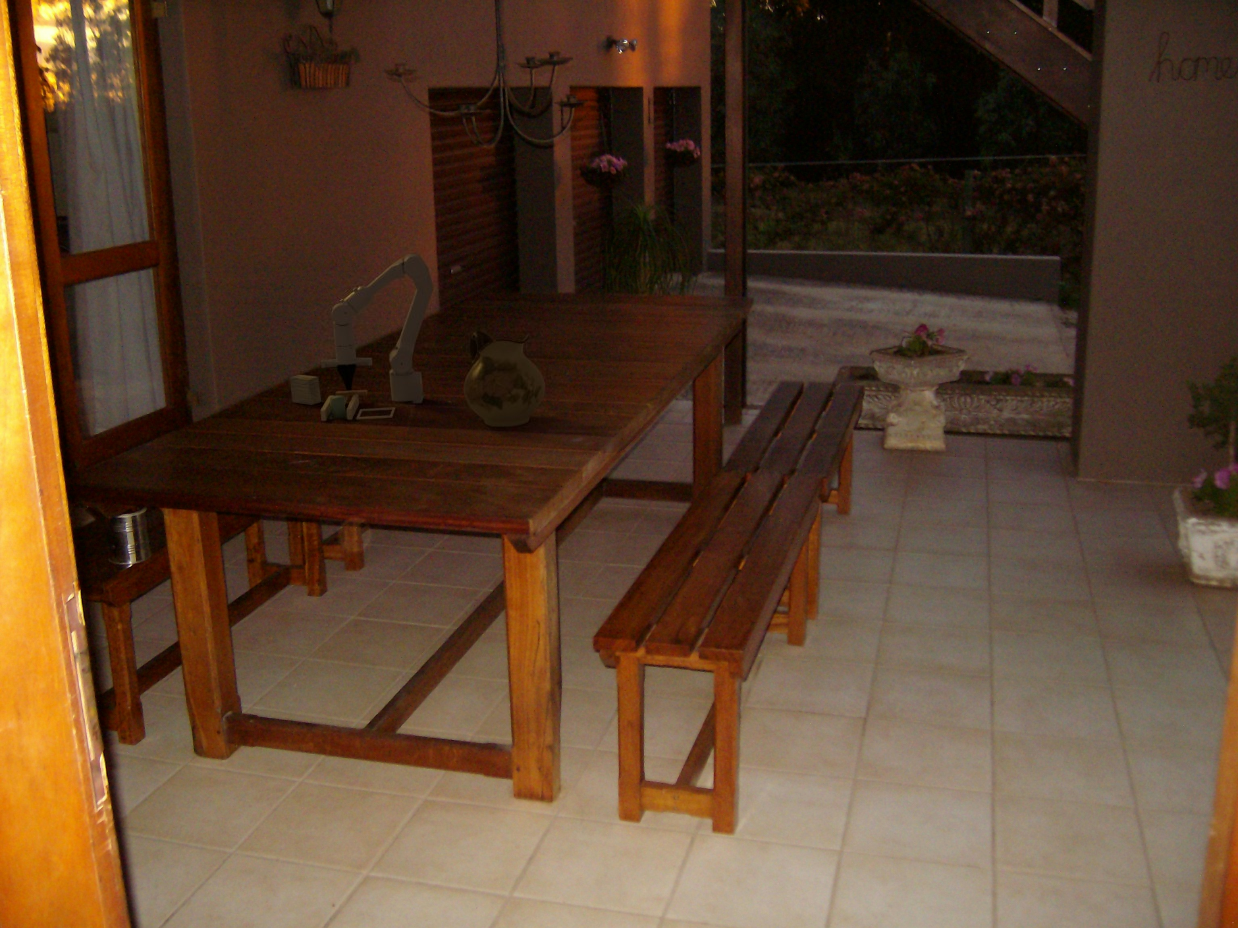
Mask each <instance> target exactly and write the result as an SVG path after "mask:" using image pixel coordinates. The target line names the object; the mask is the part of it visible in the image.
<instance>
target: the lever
mask: <svg viewBox="0 0 1238 928" xmlns="http://www.w3.org/2000/svg"><path fill="white" fill-rule="evenodd" d="M334 394H335V395H334V396H344V399H345V404H346V403H347V401H348V399H349V397H353V395H354V394H358V396H367V395H368V389H359V390H357V389H355V390H353V389H352V390H351V391H346V390H338V391H336V392H335V393H334ZM338 419H339V420H340V419H347V412H346V416H345V417H340V418H334V417H332V414H331V413H330V414H329V416H328V420H338Z"/></svg>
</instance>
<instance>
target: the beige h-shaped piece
mask: <svg viewBox="0 0 1238 928" xmlns="http://www.w3.org/2000/svg"><path fill="white" fill-rule="evenodd" d="M332 396H333V395H328V397H327V399H326V401H325V402H324V404H323V406H322V407H321V409H320V416H321V418H320V419H321V422H326V421H327V420H328V419H329V417H330V415H331V404H330V397H332ZM359 405H360V399H359V395H358V394H354V395H353V396H351V399H350V400H349V404H348V406H347V408H346V413H347V418H346V419H347V421H348V420H353V418H354V417H355V416H354V415H355V414H356V411H357V409H358V407H359Z"/></svg>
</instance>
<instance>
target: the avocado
mask: <svg viewBox="0 0 1238 928" xmlns="http://www.w3.org/2000/svg"><path fill="white" fill-rule="evenodd" d="M331 396H332V397H330V404H331V413H330V415H331V414H332V417H334V418H340V417H345V416H346V413H347V409H346V403H345V399H344V396H336V395H331ZM340 419H341V418H340Z"/></svg>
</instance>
